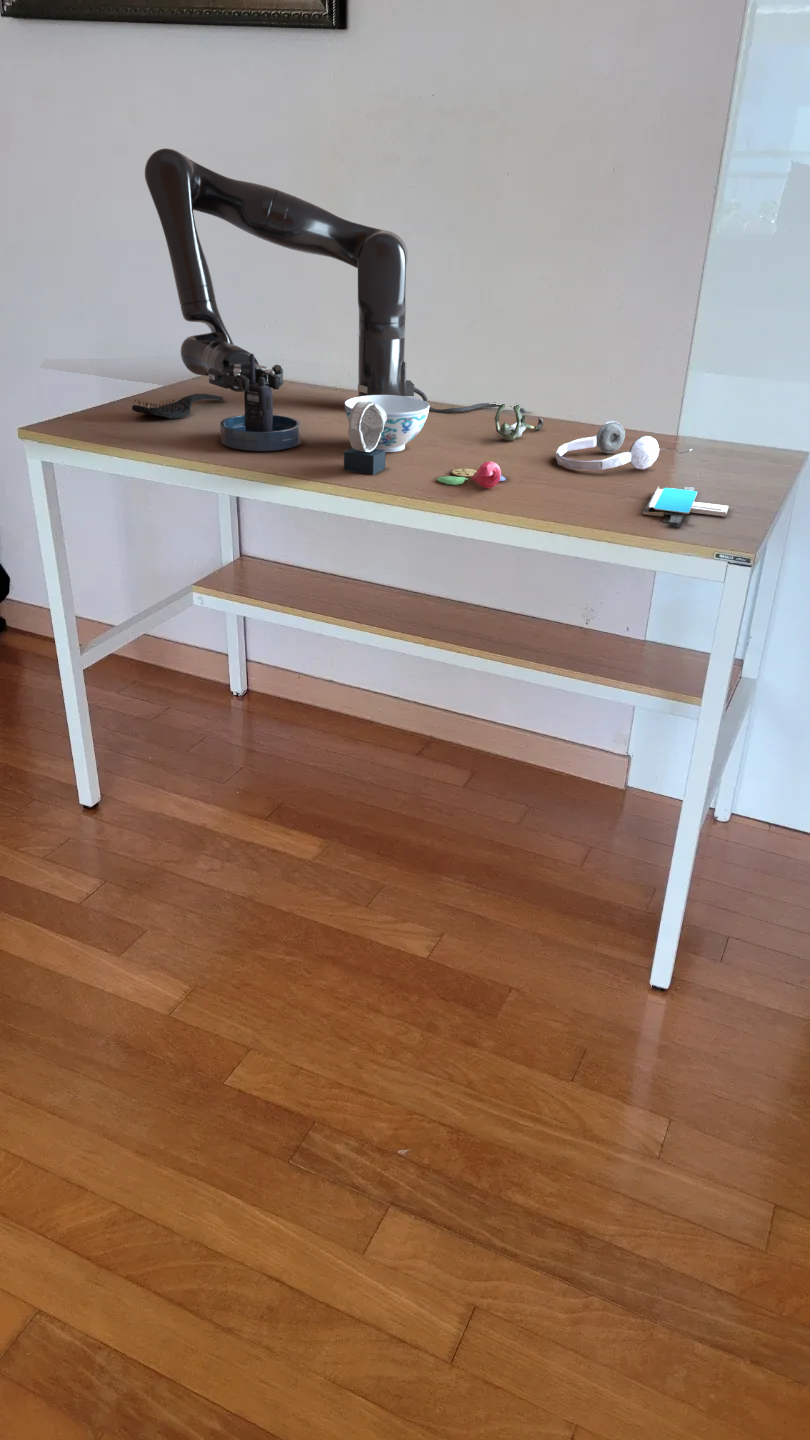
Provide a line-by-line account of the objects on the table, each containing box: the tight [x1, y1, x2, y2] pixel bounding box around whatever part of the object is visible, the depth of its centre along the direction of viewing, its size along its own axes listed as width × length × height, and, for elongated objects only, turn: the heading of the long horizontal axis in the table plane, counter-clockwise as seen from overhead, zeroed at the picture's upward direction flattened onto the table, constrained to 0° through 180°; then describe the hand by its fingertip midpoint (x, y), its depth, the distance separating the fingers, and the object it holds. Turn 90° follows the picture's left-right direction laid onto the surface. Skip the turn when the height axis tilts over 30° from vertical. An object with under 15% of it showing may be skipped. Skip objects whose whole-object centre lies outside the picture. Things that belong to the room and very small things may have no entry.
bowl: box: [219, 414, 302, 452], centre depth 192 cm, size 14×14×4 cm
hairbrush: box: [131, 392, 224, 419], centre depth 212 cm, size 8×4×25 cm
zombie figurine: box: [494, 404, 544, 442], centre depth 201 cm, size 5×7×15 cm
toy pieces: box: [436, 460, 506, 489], centre depth 174 cm, size 12×11×4 cm
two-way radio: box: [243, 353, 274, 432], centre depth 189 cm, size 6×4×15 cm
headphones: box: [555, 421, 693, 471], centre depth 186 cm, size 17×6×20 cm
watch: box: [343, 401, 387, 476], centre depth 177 cm, size 6×8×11 cm
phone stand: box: [642, 485, 729, 528], centre depth 164 cm, size 20×12×2 cm, turn 160°
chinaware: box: [344, 395, 431, 453], centre depth 190 cm, size 15×15×8 cm
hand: (262, 384), depth 186 cm, fingers closed on two-way radio, 5 cm apart
